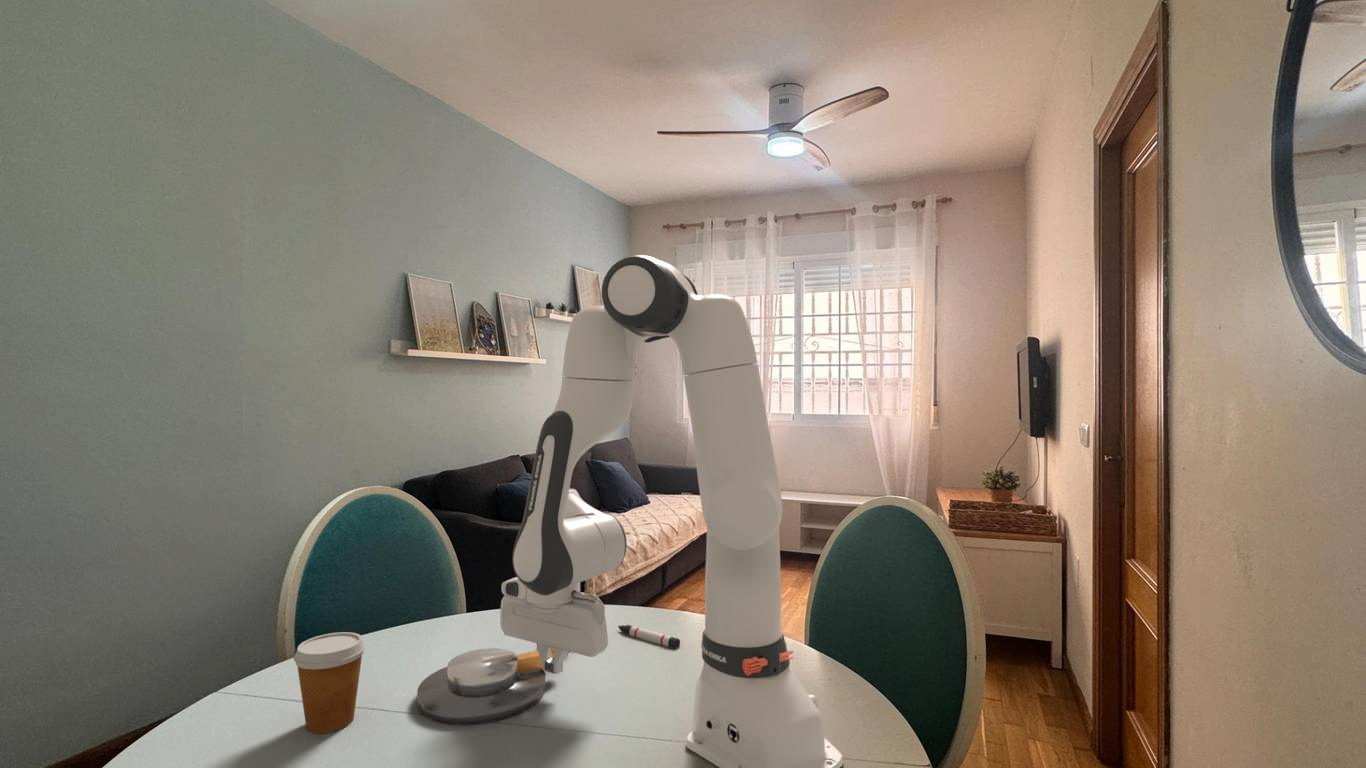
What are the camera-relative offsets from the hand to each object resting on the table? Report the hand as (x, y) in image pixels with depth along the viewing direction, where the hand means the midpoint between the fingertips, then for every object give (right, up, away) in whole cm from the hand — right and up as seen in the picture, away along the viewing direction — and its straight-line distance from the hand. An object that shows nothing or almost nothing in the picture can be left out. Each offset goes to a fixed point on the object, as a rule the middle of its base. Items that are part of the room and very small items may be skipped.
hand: (552, 671), depth 109 cm
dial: (-8, -1, +2) cm, 8 cm away
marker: (+14, -4, +24) cm, 28 cm away
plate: (-11, -4, 0) cm, 12 cm away
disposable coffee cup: (-31, -4, -9) cm, 33 cm away
